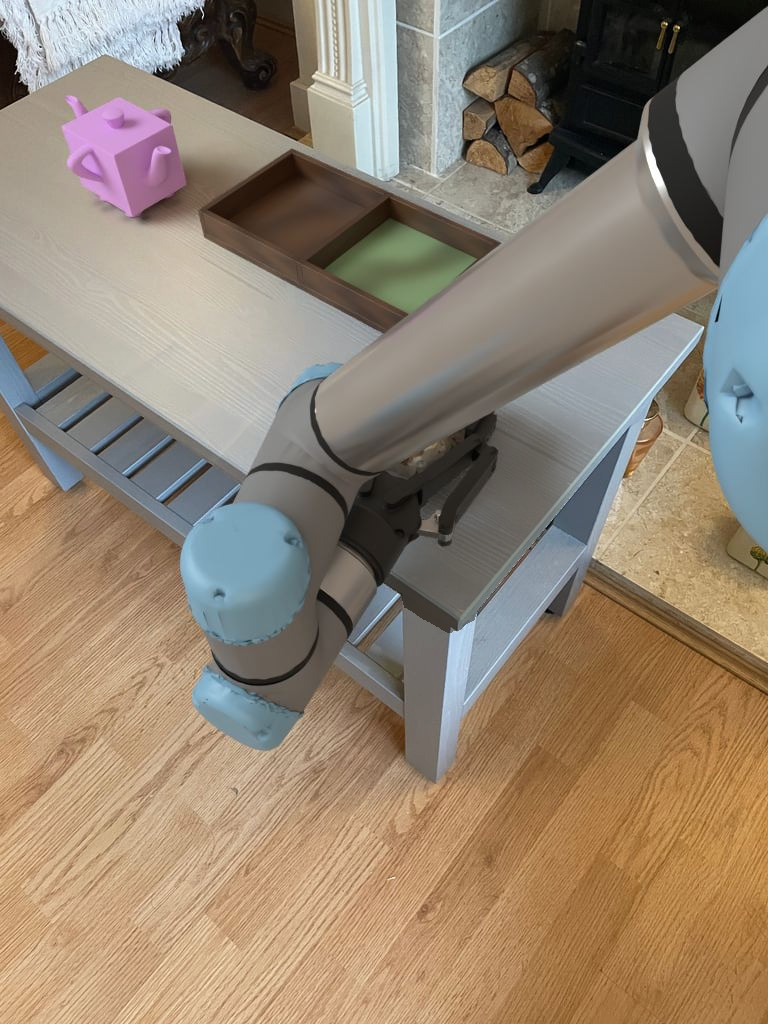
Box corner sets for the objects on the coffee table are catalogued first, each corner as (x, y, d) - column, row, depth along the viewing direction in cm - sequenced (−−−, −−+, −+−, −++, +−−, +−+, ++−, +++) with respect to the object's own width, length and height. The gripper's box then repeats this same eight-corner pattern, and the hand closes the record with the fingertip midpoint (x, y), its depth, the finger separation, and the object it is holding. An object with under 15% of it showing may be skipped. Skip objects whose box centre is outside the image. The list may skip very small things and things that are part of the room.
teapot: (203, 164, 108) (184, 82, 99) (188, 225, 100) (167, 142, 91) (90, 166, 108) (62, 84, 99) (67, 227, 101) (34, 144, 92)
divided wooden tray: (499, 271, 94) (503, 243, 91) (413, 349, 87) (413, 322, 84) (295, 175, 106) (291, 148, 103) (204, 237, 99) (197, 210, 96)
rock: (435, 520, 72) (445, 421, 66) (374, 496, 75) (378, 399, 69) (495, 463, 81) (508, 371, 75) (438, 443, 83) (446, 353, 78)
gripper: (246, 541, 70) (374, 373, 82) (446, 636, 64) (553, 440, 76) (231, 490, 64) (372, 315, 75) (451, 589, 58) (567, 384, 70)
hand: (463, 378), depth 76 cm, fingers closed on rock, 6 cm apart
